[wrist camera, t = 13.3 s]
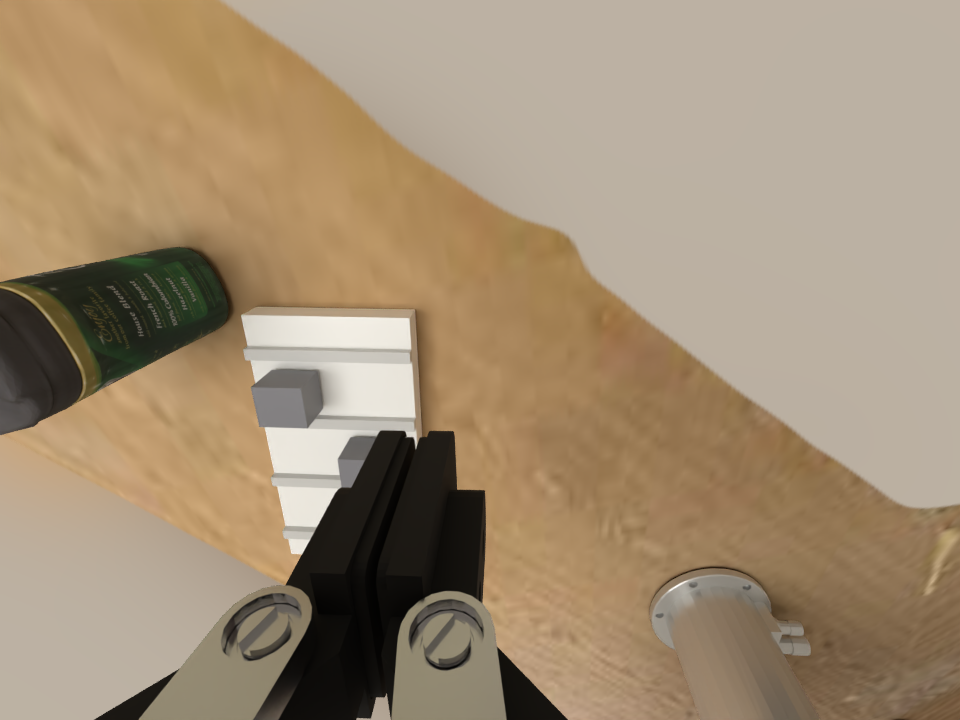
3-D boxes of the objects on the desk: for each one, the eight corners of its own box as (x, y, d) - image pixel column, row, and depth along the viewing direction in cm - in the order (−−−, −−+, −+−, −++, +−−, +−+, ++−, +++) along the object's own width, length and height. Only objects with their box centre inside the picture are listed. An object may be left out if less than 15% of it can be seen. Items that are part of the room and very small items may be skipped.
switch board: (415, 309, 39) (407, 320, 36) (428, 541, 49) (423, 565, 46) (256, 306, 39) (236, 317, 36) (301, 535, 49) (288, 559, 46)
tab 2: (394, 438, 40) (384, 460, 37) (397, 471, 42) (388, 495, 39) (350, 437, 40) (337, 459, 37) (354, 470, 42) (342, 494, 39)
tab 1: (317, 370, 38) (300, 388, 35) (323, 408, 39) (307, 428, 36) (271, 369, 38) (250, 387, 35) (279, 406, 40) (259, 427, 37)
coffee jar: (201, 233, 37) (-61, 285, 20) (246, 321, 40) (50, 433, 23) (104, 265, 39) (-217, 339, 21) (154, 348, 41) (-94, 472, 24)
